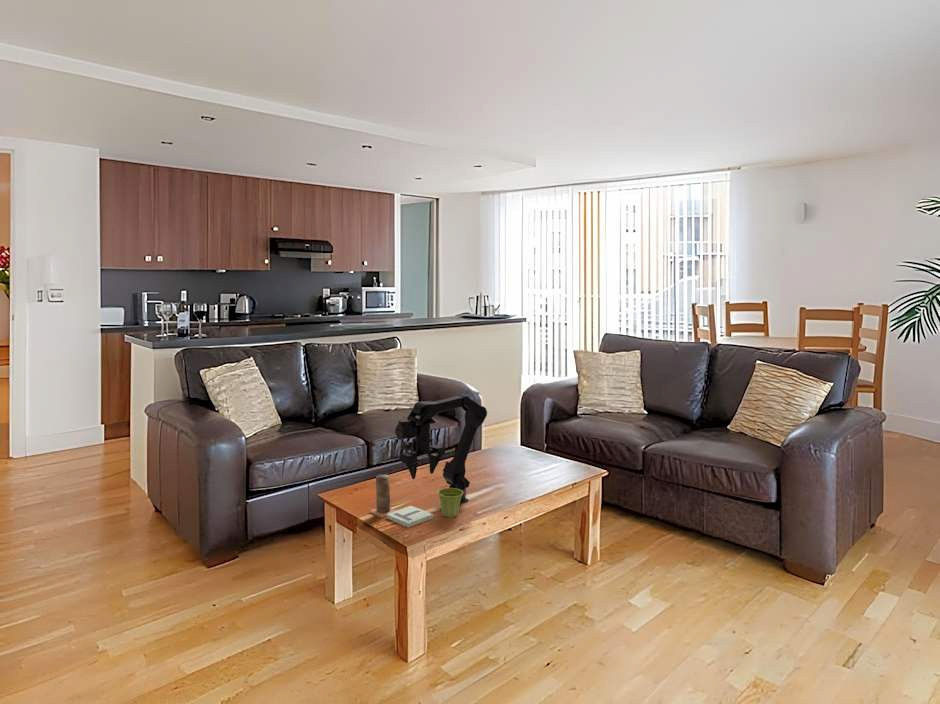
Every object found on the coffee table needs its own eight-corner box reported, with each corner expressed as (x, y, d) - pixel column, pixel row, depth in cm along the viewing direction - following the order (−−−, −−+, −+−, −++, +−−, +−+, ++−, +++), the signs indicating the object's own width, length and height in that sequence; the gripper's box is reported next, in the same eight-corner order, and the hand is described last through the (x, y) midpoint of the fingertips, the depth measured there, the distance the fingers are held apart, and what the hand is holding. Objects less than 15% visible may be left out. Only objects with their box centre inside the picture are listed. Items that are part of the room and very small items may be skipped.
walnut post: (387, 507, 241) (386, 473, 239) (391, 511, 237) (391, 477, 235) (374, 509, 239) (374, 475, 237) (379, 513, 234) (378, 479, 233)
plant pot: (462, 509, 242) (463, 487, 241) (463, 519, 232) (463, 496, 231) (438, 509, 241) (438, 487, 240) (437, 519, 232) (437, 496, 231)
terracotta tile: (384, 507, 243) (384, 505, 242) (396, 512, 238) (396, 510, 238) (369, 512, 237) (369, 510, 237) (381, 517, 233) (381, 515, 233)
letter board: (411, 509, 241) (411, 505, 241) (433, 518, 233) (433, 514, 233) (386, 518, 232) (386, 514, 232) (408, 527, 224) (408, 523, 224)
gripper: (426, 427, 250) (425, 466, 252) (389, 436, 236) (389, 476, 238) (446, 433, 242) (445, 472, 244) (409, 442, 229) (409, 484, 231)
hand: (422, 476), depth 240 cm, fingers open, 9 cm apart
